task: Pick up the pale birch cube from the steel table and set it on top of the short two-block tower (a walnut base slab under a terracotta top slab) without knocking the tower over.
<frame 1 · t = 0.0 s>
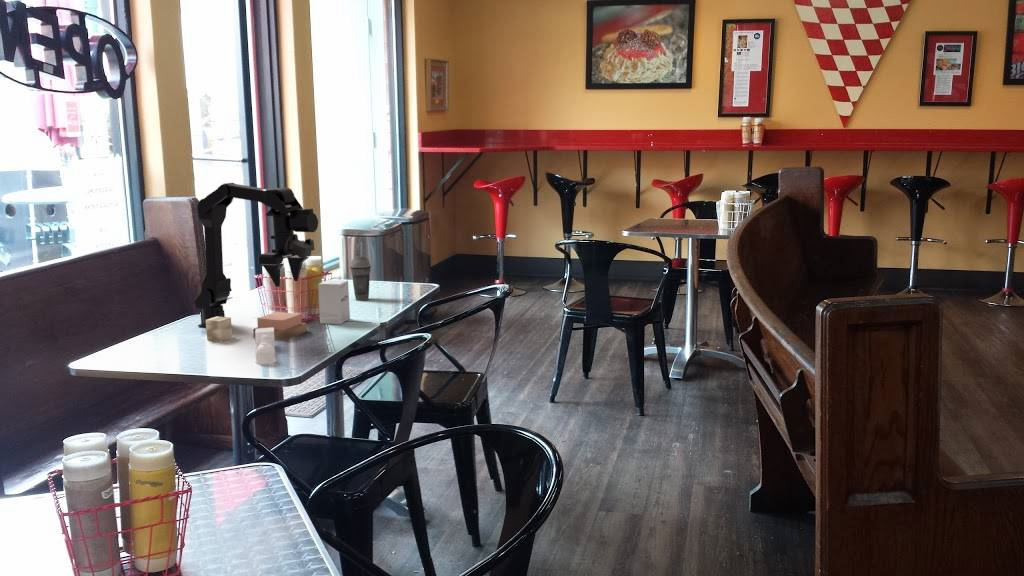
hand: (287, 283, 264), 15 cm above the table, fingers open, 9 cm apart
birch cube: (219, 338, 260), on the table
container set: (265, 356, 242), on the table
walnut base slab: (280, 335, 264), on the table
supplement box 2: (335, 322, 279), on the table
terracotta top slab: (280, 325, 264), point 2 cm above the table
beverage cup: (362, 300, 312), on the table
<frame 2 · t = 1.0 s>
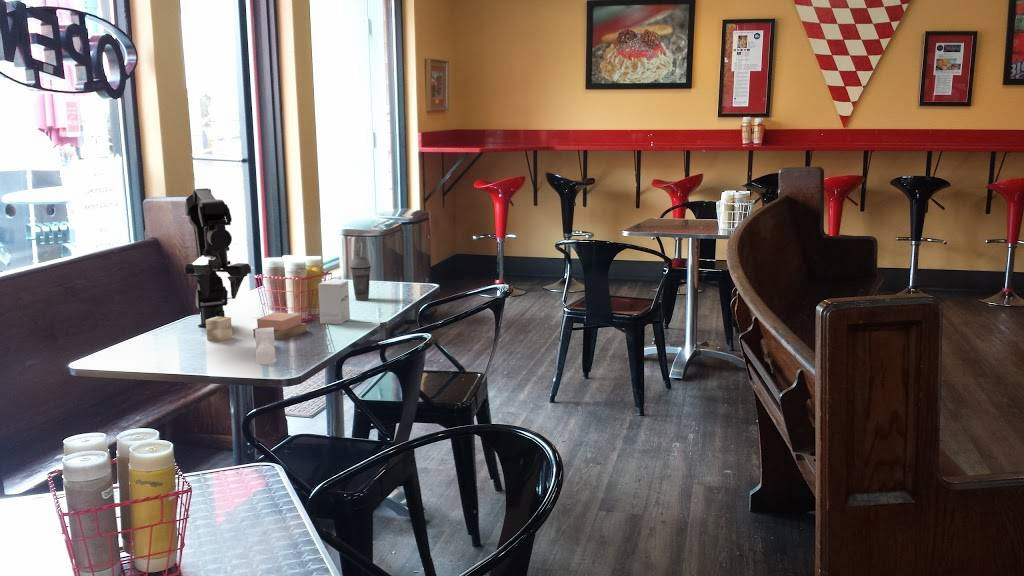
hand: (220, 297, 258), 12 cm above the table, fingers open, 9 cm apart
walnut base slab: (280, 336, 264), on the table, touching terracotta top slab
terracotta top slab: (279, 326, 264), point 2 cm above the table, touching walnut base slab
everything else where it was.
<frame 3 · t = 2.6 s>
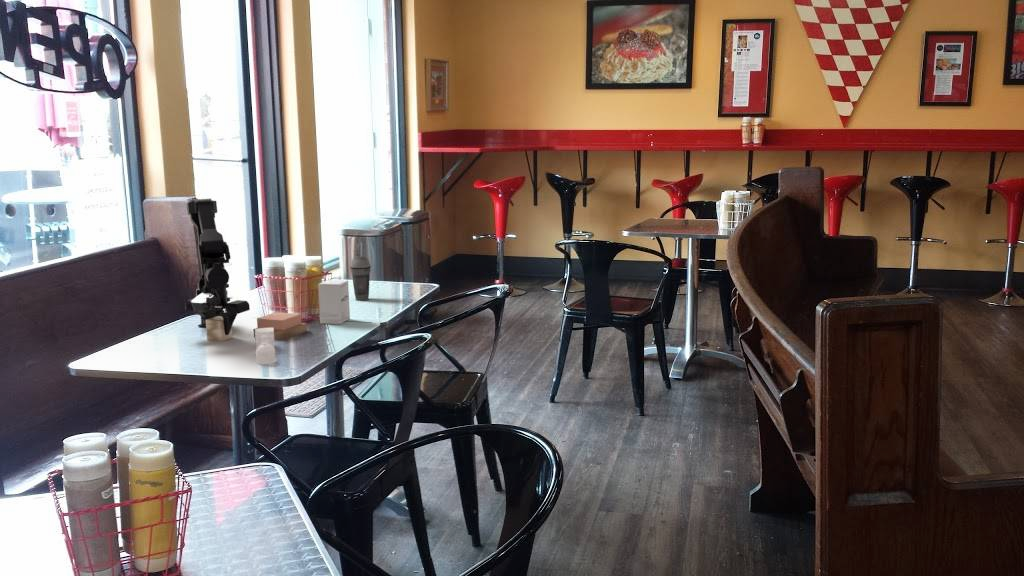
hand: (219, 334, 260), 1 cm above the table, fingers closed on birch cube, 5 cm apart
birch cube: (219, 338, 260), on the table, touching gripper
everything else where it was.
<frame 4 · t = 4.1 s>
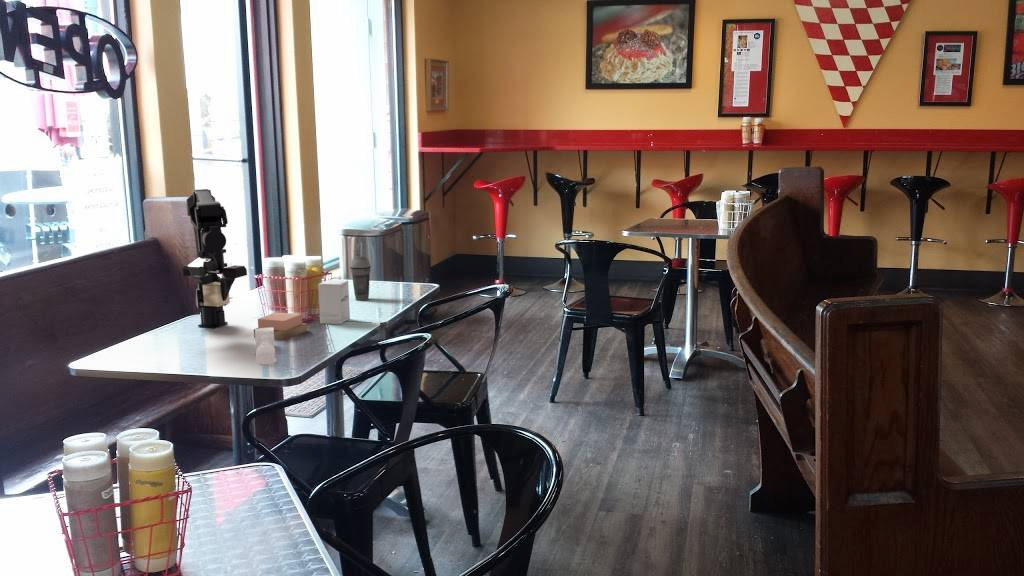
hand: (216, 300, 258), 11 cm above the table, fingers closed on birch cube, 5 cm apart
birch cube: (217, 304, 258), point 10 cm above the table, touching gripper
everything else where it was.
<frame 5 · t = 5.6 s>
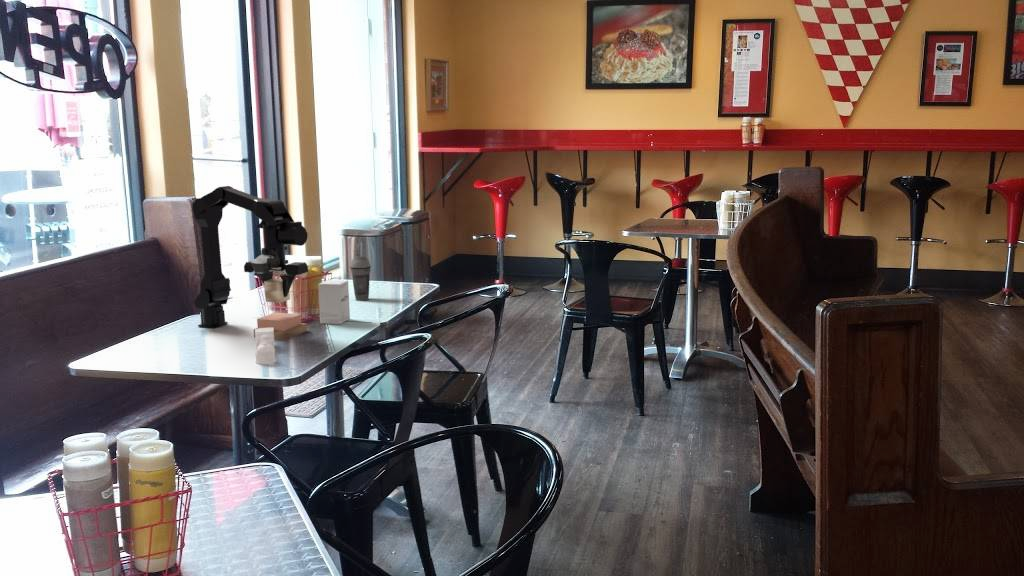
hand: (277, 296, 262), 11 cm above the table, fingers closed on birch cube, 5 cm apart
birch cube: (277, 300, 262), point 10 cm above the table, touching gripper
everything else where it was.
when the fingers open (9 cm above the table, at t = 6.9 s): birch cube drops 2 cm, resting on terracotta top slab.
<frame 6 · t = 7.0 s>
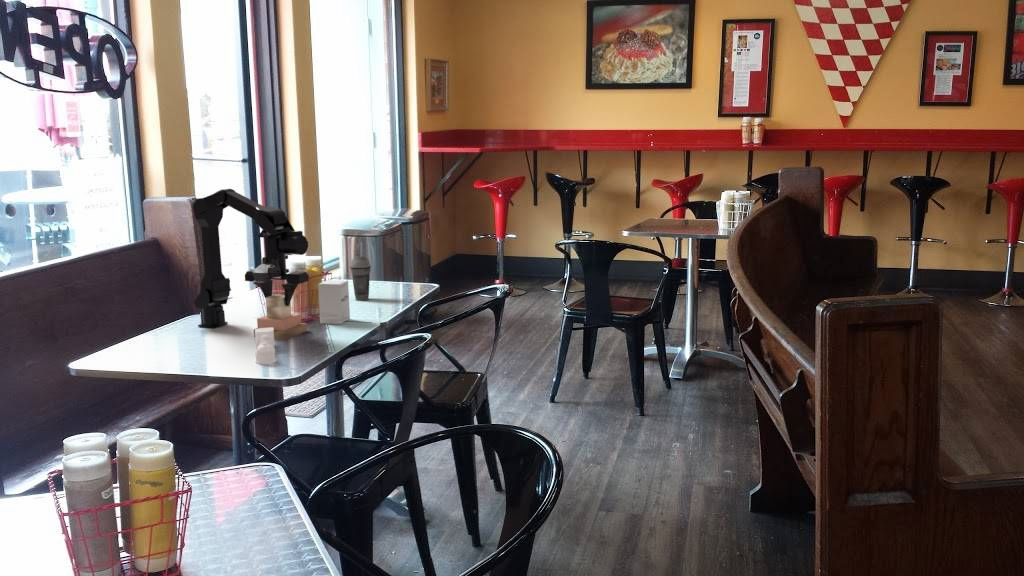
hand: (278, 305, 263), 9 cm above the table, fingers open, 6 cm apart
birch cube: (279, 316, 263), point 5 cm above the table, touching terracotta top slab
walnut base slab: (281, 336, 264), on the table
terracotta top slab: (279, 326, 264), point 2 cm above the table, touching birch cube
everything else where it was.
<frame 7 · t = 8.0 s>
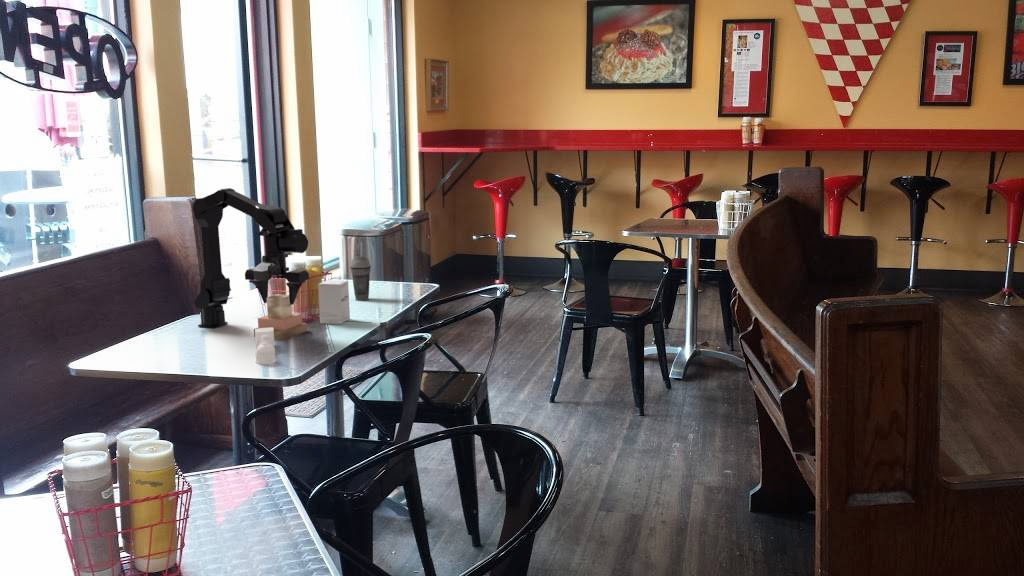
hand: (278, 303, 263), 9 cm above the table, fingers open, 9 cm apart
walnut base slab: (281, 335, 265), on the table, touching terracotta top slab
terracotta top slab: (280, 325, 264), point 2 cm above the table, touching birch cube, walnut base slab
everything else where it was.
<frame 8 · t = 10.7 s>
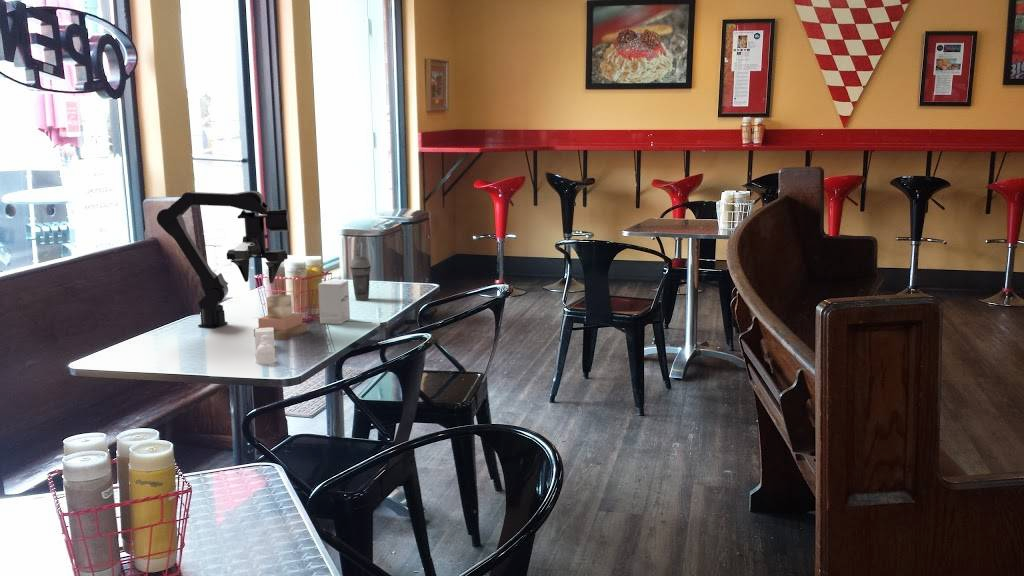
hand: (258, 282, 276), 13 cm above the table, fingers open, 9 cm apart
nothing on the table moved.
at the end: birch cube 0.1 cm off-centre on the terracotta top slab, point 3.0 cm above the terracotta top slab's base; terracotta top slab moved 0.7 cm from its start; birch cube tilted 1° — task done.
